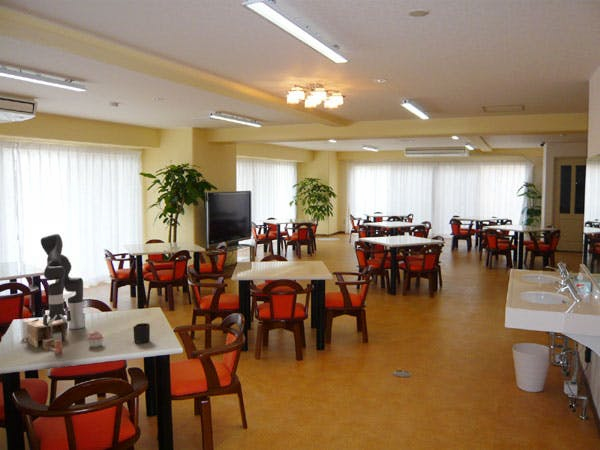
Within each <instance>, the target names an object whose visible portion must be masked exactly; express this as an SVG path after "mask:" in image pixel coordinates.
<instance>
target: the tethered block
mask: <svg viewBox="0 0 600 450" xmlns="http://www.w3.org/2000/svg"><path fill="white" fill-rule="evenodd" d="M62 341H63V339H62V340H56V341H55V339H53V338H48V339H43V340H42V349H44V350H45V351H47V350H51V351H53V352H54V354H55V355H60V354H63V346H62Z"/></svg>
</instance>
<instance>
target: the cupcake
mask: <svg viewBox="0 0 600 450" xmlns="http://www.w3.org/2000/svg"><path fill="white" fill-rule="evenodd" d="M104 337H105V336H103V334H102V332H100V331H98V329H93V331H92V332H90V333H89V334H88V335H87V339H86V341H87V342H88V345H89V347H90V348H93V349H95V348H99V347H101V346H102V345H103V342H104V341H103V340H104Z"/></svg>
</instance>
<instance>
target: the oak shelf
mask: <svg viewBox="0 0 600 450" xmlns="http://www.w3.org/2000/svg"><path fill="white" fill-rule="evenodd" d="M49 319H50V318H47V323H48V321H49ZM50 326H51V333H49V332H48V331H47V326H45V325H43V319H39V321H34V322H29V323H27V336H28V338H27V343H28V344H29V345H32V346H33V347H35V348H38V347H39V343H38V342H39V341H43V339H48V338H53V334H52V332H56V331H59V332H61V333H62V341H65V342H67V341H68V328H67V329H64V321H63V320H62V319H61V320H57V321H53V323H52V324H51V325H50Z"/></svg>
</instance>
